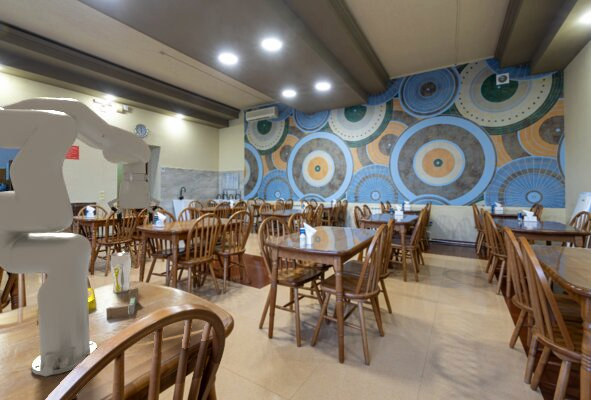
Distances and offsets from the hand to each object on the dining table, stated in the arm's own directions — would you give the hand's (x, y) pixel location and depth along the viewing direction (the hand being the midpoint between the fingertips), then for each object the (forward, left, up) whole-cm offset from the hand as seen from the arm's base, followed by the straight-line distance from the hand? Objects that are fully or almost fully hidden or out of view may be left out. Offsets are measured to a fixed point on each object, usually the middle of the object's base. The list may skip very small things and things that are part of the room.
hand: (135, 223), depth 106 cm
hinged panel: (-11, +1, -28) cm, 30 cm away
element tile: (-2, +21, -29) cm, 36 cm away
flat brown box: (-15, -1, -28) cm, 32 cm away
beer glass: (+10, +6, -28) cm, 31 cm away
